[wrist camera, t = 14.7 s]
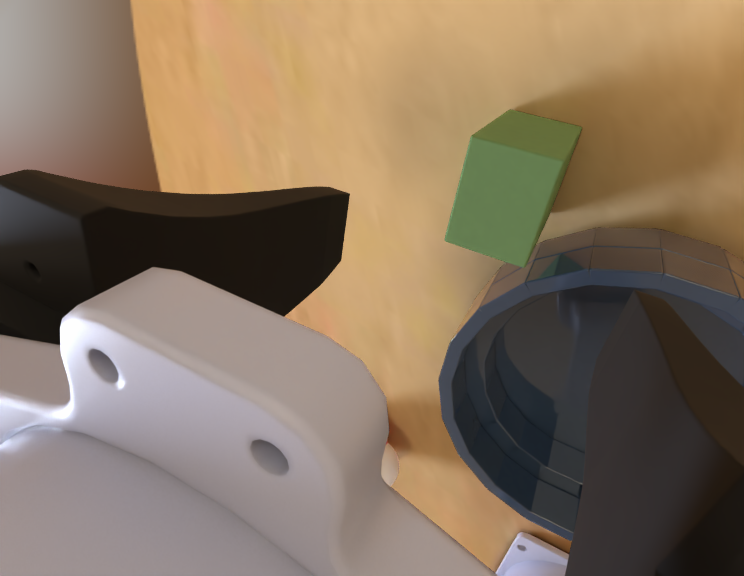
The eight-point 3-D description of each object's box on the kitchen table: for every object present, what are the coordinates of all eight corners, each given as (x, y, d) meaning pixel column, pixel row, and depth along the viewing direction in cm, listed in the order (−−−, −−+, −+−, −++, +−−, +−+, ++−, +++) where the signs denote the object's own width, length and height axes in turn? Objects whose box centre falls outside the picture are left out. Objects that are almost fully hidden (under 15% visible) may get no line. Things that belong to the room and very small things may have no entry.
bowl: (697, 520, 23) (709, 611, 19) (442, 404, 27) (412, 462, 23) (905, 296, 16) (983, 375, 12) (514, 181, 20) (488, 216, 16)
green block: (549, 215, 20) (524, 269, 15) (483, 195, 20) (443, 241, 16) (583, 126, 18) (565, 160, 13) (509, 108, 19) (470, 135, 14)
